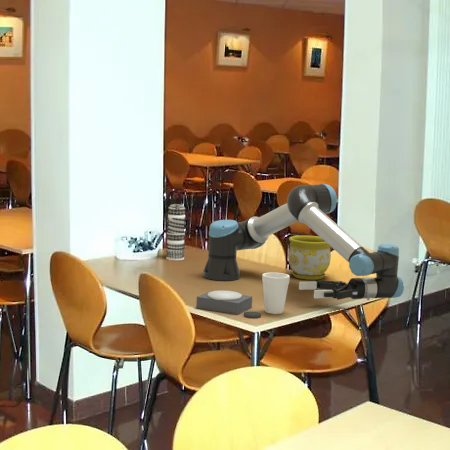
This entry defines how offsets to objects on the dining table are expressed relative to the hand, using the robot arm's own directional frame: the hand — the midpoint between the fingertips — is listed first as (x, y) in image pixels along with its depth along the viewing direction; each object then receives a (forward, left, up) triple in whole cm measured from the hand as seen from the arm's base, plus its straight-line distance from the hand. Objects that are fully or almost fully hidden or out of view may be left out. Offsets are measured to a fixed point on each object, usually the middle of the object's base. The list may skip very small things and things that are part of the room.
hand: (306, 290), depth 289 cm
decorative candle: (-84, +59, -8) cm, 103 cm away
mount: (-26, -11, -8) cm, 30 cm away
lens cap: (-13, -16, -8) cm, 23 cm away
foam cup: (-9, -6, -8) cm, 14 cm away
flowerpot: (-19, +58, -8) cm, 61 cm away
